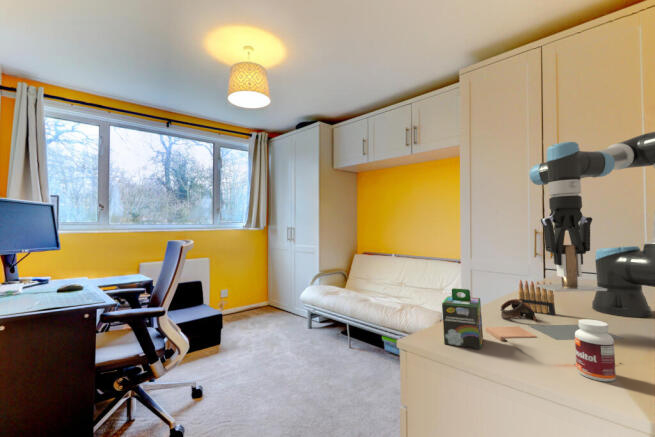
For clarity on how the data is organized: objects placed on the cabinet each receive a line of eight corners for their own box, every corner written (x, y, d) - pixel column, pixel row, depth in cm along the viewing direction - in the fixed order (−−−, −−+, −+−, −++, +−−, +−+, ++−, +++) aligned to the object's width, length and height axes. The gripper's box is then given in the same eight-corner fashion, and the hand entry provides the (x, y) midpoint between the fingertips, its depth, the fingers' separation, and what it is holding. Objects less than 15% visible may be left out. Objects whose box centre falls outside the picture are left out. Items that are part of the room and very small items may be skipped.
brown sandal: (542, 329, 93) (527, 306, 94) (511, 337, 98) (497, 316, 98) (535, 309, 104) (522, 289, 104) (507, 318, 108) (495, 299, 109)
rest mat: (587, 327, 92) (586, 324, 92) (624, 341, 80) (624, 338, 80) (527, 328, 93) (527, 325, 93) (556, 342, 81) (556, 339, 81)
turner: (583, 285, 91) (580, 243, 91) (607, 290, 83) (604, 245, 83) (536, 286, 91) (534, 244, 92) (555, 291, 83) (553, 246, 84)
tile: (518, 326, 91) (485, 327, 91) (536, 335, 83) (500, 336, 83) (518, 332, 91) (485, 332, 91) (536, 342, 83) (500, 342, 83)
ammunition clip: (518, 312, 110) (517, 279, 110) (520, 311, 111) (518, 279, 111) (554, 318, 102) (552, 282, 103) (555, 317, 103) (554, 282, 104)
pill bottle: (569, 369, 66) (566, 318, 66) (594, 367, 66) (591, 317, 67) (597, 383, 60) (593, 327, 60) (625, 381, 60) (621, 325, 61)
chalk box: (483, 339, 85) (480, 286, 86) (481, 350, 77) (478, 292, 78) (448, 334, 90) (446, 284, 90) (443, 344, 82) (440, 289, 82)
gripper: (545, 195, 85) (549, 278, 84) (605, 193, 84) (610, 277, 83) (527, 198, 92) (531, 274, 91) (583, 196, 92) (587, 273, 91)
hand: (569, 276), depth 87 cm, fingers closed on turner, 4 cm apart
